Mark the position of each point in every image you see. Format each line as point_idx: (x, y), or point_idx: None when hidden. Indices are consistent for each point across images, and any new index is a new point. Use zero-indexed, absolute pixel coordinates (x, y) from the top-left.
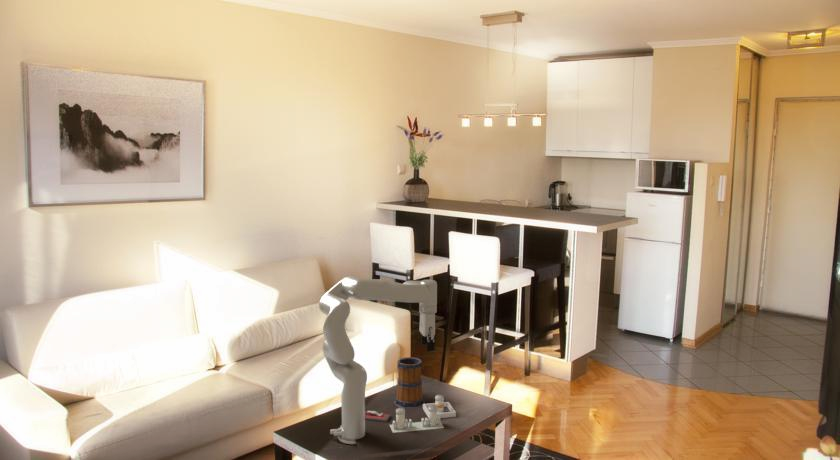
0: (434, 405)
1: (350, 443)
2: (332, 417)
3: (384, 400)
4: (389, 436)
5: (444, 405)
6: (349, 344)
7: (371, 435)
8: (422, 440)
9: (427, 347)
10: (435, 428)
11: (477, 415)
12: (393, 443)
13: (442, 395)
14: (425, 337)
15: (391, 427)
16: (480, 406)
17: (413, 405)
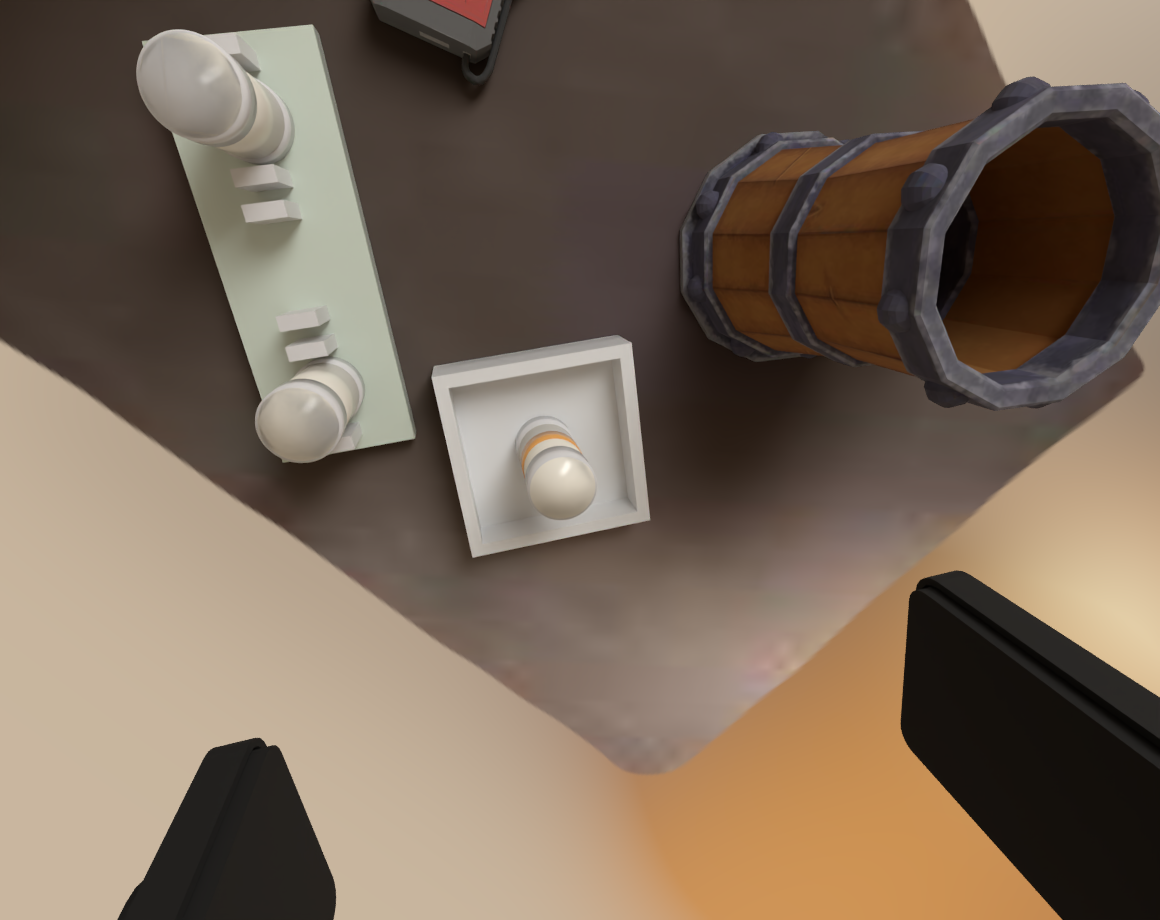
0: (329, 439)
1: None
2: None
3: (852, 51)
4: (148, 18)
5: (630, 487)
6: None
7: None
8: (110, 293)
9: (169, 865)
10: None
11: (532, 649)
12: (5, 40)
13: (575, 511)
14: (1089, 843)
15: (255, 40)
16: (655, 668)
17: (695, 274)
